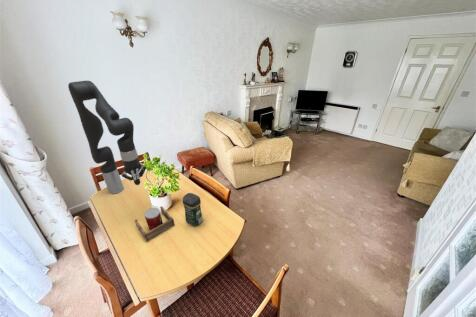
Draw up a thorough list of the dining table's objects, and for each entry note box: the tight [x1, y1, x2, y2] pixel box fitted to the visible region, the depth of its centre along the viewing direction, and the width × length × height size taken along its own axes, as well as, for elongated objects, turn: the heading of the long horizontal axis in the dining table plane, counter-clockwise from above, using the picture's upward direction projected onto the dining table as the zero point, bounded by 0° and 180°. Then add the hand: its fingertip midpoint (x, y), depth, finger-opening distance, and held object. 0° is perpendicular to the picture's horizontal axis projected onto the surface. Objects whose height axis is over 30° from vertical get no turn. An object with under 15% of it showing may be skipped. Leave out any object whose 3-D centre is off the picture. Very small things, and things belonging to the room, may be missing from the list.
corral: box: [134, 206, 175, 243], centre depth 111 cm, size 14×16×5 cm
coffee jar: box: [182, 192, 204, 227], centre depth 111 cm, size 10×8×19 cm
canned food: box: [144, 207, 164, 231], centre depth 109 cm, size 8×8×11 cm
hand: (137, 184), depth 109 cm, fingers closed
